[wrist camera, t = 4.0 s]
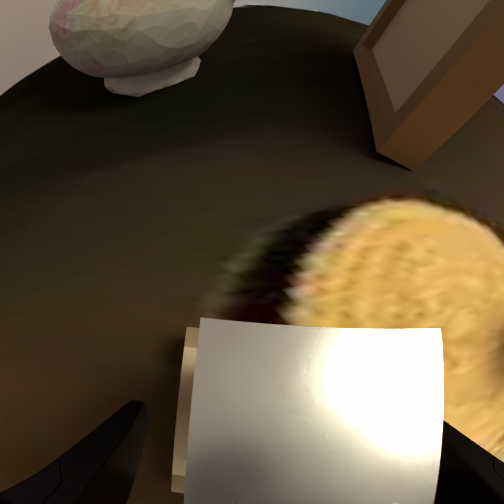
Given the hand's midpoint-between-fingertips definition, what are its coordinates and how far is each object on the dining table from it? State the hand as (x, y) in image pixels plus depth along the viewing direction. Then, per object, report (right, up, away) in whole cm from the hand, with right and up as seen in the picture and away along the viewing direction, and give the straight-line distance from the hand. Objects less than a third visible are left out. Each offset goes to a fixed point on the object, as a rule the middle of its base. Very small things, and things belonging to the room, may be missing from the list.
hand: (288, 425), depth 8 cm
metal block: (-1, -4, +7) cm, 8 cm away
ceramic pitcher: (-12, +26, +21) cm, 36 cm away
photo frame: (+18, +22, +21) cm, 35 cm away
